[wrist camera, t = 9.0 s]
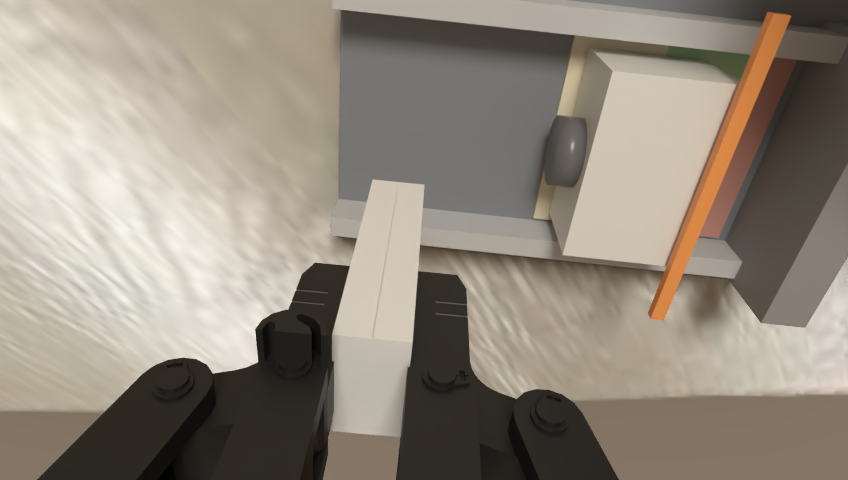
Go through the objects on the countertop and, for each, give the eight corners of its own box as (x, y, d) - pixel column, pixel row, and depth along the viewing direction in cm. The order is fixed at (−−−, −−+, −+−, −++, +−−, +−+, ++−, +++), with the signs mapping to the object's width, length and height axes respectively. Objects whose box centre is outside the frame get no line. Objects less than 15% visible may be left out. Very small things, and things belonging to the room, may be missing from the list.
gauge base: (341, 227, 30) (317, 293, 25) (346, -62, 23) (314, -54, 17) (737, 270, 30) (795, 344, 25) (869, -4, 23) (989, 20, 18)
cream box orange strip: (520, 251, 29) (530, 305, 25) (580, -20, 22) (608, -5, 18) (635, 263, 29) (663, 320, 25) (731, -3, 22) (791, 15, 18)
